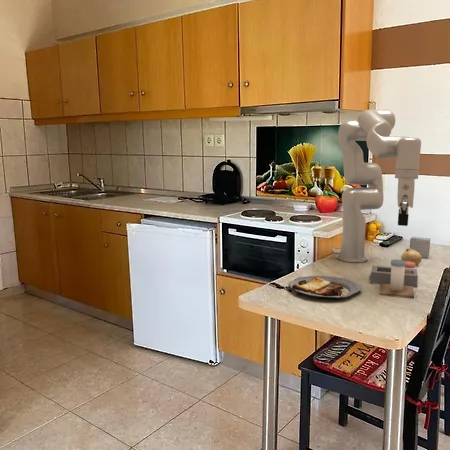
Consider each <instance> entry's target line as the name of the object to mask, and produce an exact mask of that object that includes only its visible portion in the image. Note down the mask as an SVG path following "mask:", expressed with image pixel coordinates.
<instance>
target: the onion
mask: <svg viewBox="0 0 450 450" xmlns="http://www.w3.org/2000/svg"><path fill="white" fill-rule="evenodd" d="M422 259H423V258H421V255H420V254H419V253H418V252H417V251H415V250H413V249H410V247H409V248H405V251H403V253H402V254H401V257H400V260H403V261H409V262H414V263H416V264H415V267H416V266H418V265H419V264H420V263H421V262H422Z"/></svg>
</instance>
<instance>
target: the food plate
mask: <svg viewBox="0 0 450 450" xmlns="http://www.w3.org/2000/svg"><path fill="white" fill-rule="evenodd" d="M288 287H289V288H290V290H293V291H294V292H297V293H300V294H304V295H306V296H309V297H318V298H326V299H330V298H331V299H334V300H335V299H340V298H343V299H345V298H348V297H352V296H353V295H355V294H356V293H359V291H363V287H362V286H360V284H358V283H356V282H355V281H352V280H350V279H346V278H342V277H339V276H330V275H329V276H327V275H306V276H299V277H297V278H295V279H293V280H291V281H289V283H288ZM344 289H345V290H346V293H347V294H346V293H345V292H344ZM347 291H348V292H349V293H348V292H347ZM344 294H346V295H344ZM341 295H342V296H341Z"/></svg>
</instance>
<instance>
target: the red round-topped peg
mask: <svg viewBox="0 0 450 450" xmlns="http://www.w3.org/2000/svg"><path fill="white" fill-rule="evenodd" d="M405 262H406V265H405V268H410V269H416V266H415V264H416V263H414V262H409V261H405ZM405 273H412V271H405Z"/></svg>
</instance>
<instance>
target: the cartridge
mask: <svg viewBox="0 0 450 450" xmlns="http://www.w3.org/2000/svg"><path fill="white" fill-rule="evenodd" d="M390 265H391V266H390V267H391V279H390V289H391V290H393V291H403V288H404V272H405V265H406V262H405V261H403V260H401V259H392V260H390Z"/></svg>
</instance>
